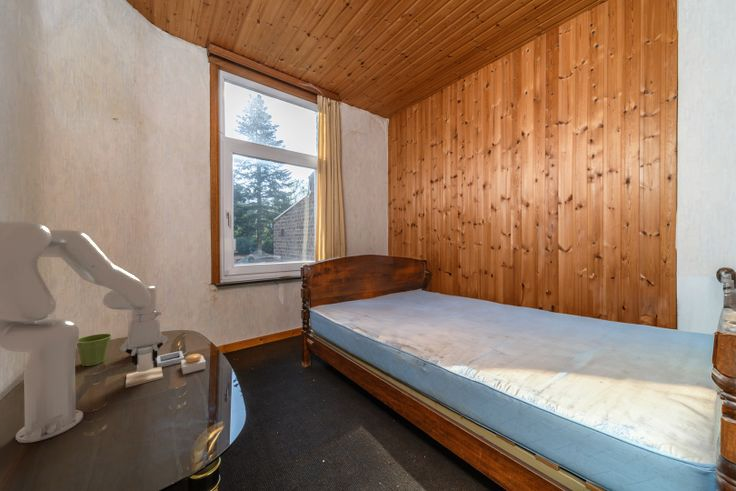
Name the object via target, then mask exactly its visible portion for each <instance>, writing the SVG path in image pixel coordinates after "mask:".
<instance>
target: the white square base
mask: <svg viewBox="0 0 736 491" xmlns="http://www.w3.org/2000/svg"><path fill="white" fill-rule="evenodd" d="M206 364H207V362H206V360H205V357H204V355H202V354H201V359H200V360H198V361H196V362H192V363H190V362H186V361H185V358H184V360H181V363H180V368H181V372H182V375H186V374H191V373H194V372H197V371H201V370H206V369H205V368H207V365H206Z"/></svg>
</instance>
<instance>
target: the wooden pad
mask: <svg viewBox="0 0 736 491" xmlns="http://www.w3.org/2000/svg"><path fill="white" fill-rule="evenodd" d="M162 368H163V367H161V366H159V367H156V366H155V367H153V368H152V369H150V370H148V371H144V372H138V371H134V372H131V373H127V374H126V378H125V387H124V388H129V387H130V388H131V387H134V386H138V385H141V384H142V385H143V384H145V383H149V382H153V381H157V380H161V379H164V376H163V375H164V374H163V370H162Z"/></svg>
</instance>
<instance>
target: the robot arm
mask: <svg viewBox="0 0 736 491" xmlns="http://www.w3.org/2000/svg"><path fill="white" fill-rule="evenodd" d="M40 257H42V258H45V257H46V258H60V259H61V260H63V261H64V262H65V263H66V264H67V265H68V266H69V267H70V268H71V269H72V270H73V271H74V272H75V273H76V274H77V275H78V276H79V277H80V278H81V279H83V280H84V281H86V282H89V283H90V284H93V285H97V286H100V287H104V288H107V289H109V290H110V291H109V292H107V293H105V295H104V296H103V298H102V302H103V304H104V306H105V307H106V308H108V309H110V310H118V311H119V310H122V311H124V310H127V311H131V321H129V323H128V328H127V339H126V340H125V342H123V344H122V345H121V346H120V347H119V350H120V351H122V352H125V353H126V354H128V355H129V354H130V355H131V356H130V357H131V363H132V364H134V366H137V353H136V350H137V347H142V346H147V345H153V362H156V359H157V356H158V350H159V349H160V348H161V347H162V346H163V345H164V344H166V343H167V341H168V340H169V339H168V338H167V337H166V336H165V335H164V334H162V333H161V332H162V329H161V322H160V318H159V317H158V316H161V315H162V312H161V311H158V310H157V288H156V286H155V285H152V284H151V285H150V284H144V283H143V282H142V281H141V280H140V279H139V278H137V277H136V276H135V275H133V274H131V273H130V272H128V271H126V270H125V269H123V268H121V267H119V266H117V265H115V264H114V263H113V262H112V261H111V260H110V259H109V258H108V256H106V254H105V253H104V252H103V251H102V250H101V249H100V248H99V247H98V245H97V244H96V243H95V241H93V240H92V239H91V237H90V236H89V235H87V234H86V233H85V232H82V231H79V230H71V229H65V230H64V229H63V230H62V229H59V230H58V229H57V230H56V229H49V228H48V227H47V226H45V225H43V224H41V223H38V222H32V221H21V220H20V221H19V220H17V221H13V220H12V221H0V347H1V348H2V349H4V350H6V351H9V352H16V353H28V354H30V357H29V359H28V361H27V363H26V365H25V367H24V371H23V372H24V373H23V384H24V385H23V386H24V388H23V389H24V392H23V393H24V396H23V397H24V426H23V427H22V428H20V430H18V431H17V433H16V434H15V441H16V440H17V441H18V443H22V444H23V443H25V444H27V443H34V442H36V443H37V442H39V441H43V440H46V439H49V438H53V437H56V436H57V435H60V434H62V433H64V432H67V431H69V430H70V429H72V428H74V427H75V426H76V425H77V424H79V423H80V422H81V421H82V420H83V418H84V412H83V411H81V410H78V409H76V350H77V343H78V339H79V338H80V329H79V327H78V325H77V324H76V323H75V322H73V321H71V320H69V319H63V318H53V317H50V316H51V315H53V313H54V312H55V310H56V308H57V303H56V299H55V297H54V295H53V293H52V292H51V290H50V289H49V287H48V285H47V283H46V282H45V281H44V278H43V277H42V275H41V273H40V271H39V268H38V267H39V266H38V263H39V259H40ZM48 317H49V318H48ZM130 348H132V349H130ZM17 441H16V442H17Z"/></svg>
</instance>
